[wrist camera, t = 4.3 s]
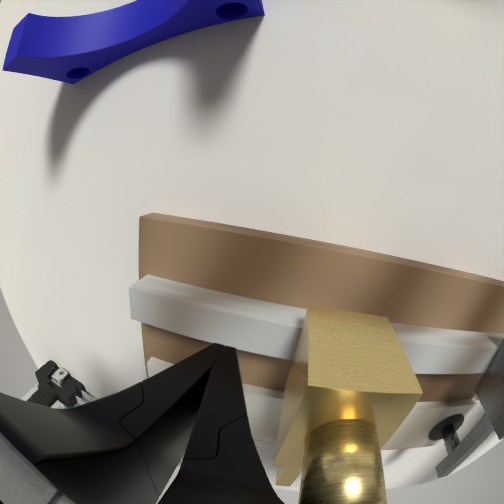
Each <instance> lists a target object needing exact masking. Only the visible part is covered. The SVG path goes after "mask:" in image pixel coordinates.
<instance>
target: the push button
mask: <svg viewBox="0 0 504 504" xmlns="http://www.w3.org/2000/svg"><path fill="white" fill-rule="evenodd" d="M35 374H36V377H37V380H38V382H39V384H37V383H36V384H34V386H35V387H33V389H31V390H30V391H29V392H28V393H27V394H26V395H25V396H24V397H23V398H21V400H24V401H28V402H31V403H35V404H39V405H43V406H47V407H51V408H57V409H65V408H71V407H75V406H79V405H82V404H85V402H84V401H83V400H84V399H86V400H89V401H91V402H92V400H93V401H95V399H94V398H92V397H91V396H89V395H87V394H86V392H85V391H84V387H83V384H82V383H80V382H79V381H77V380H76V379H74V378H73V377H71V376H70V375H68V372H67V371H66V370H64V369H63V368H59V367H57V366H56V364H55V363H54V362H53V361H51V360H50V361H48V362H47V363H46V364H44V365H43V366H42V367H41V368H40V369H39V370H37V371H36V372H35ZM90 398H91V399H92V400H91V399H90Z"/></svg>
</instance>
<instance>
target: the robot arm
mask: <svg viewBox="0 0 504 504" xmlns="http://www.w3.org/2000/svg"><path fill="white" fill-rule="evenodd" d="M184 452H185V455H184V458H183V461H182V464H181V467H180V470H179V472H178V474H177V476H176V478H175V479H174V481H173V482H172V484H171V485H170V487H169V488H168V490H167V491H166V492H165V494H164V495H163V497H162V498H161V500H160V501H159V503H158V504H284V503H283V502H282V501H281V500H280V498H279V497H278V496H277V494H276V493H275V491H274V489H273V488H272V486H271V484H270V481H269V479H268V477H267V474H266V472H265V470H264V467H263V465H262V462H261V460H260V457H259V455H258V452H257V450H256V447H255V444H254V441H253V437H252V433H251V429H250V425H249V419H248V416H247V409H246V403H245V397H244V391H243V385H242V379H241V373H240V367H239V360H238V354H237V349H236V348H235V347H231V346H227V345H226V346H225V345H223V344H219V343H212V344H210V345H208V346H207V347H205V348H203V349H201V350H200V351H198V352H196V353H194V354H192V355H191V356H189V357H187V358H185V359H183V360H181V361H180V362H178V363H176V364H174V365H172V366H170V367H168V368H167V369H165V370H163V371H161V372H159V373H157V374H155V375H153V376H151V377H149V378H147V379H145V380H143V381H142V382H139V383H137V384H135V385H133V386H131V387H129V388H127V389H124V390H122V391H120V392H118V393H115V394H112V395H109V396H107V397H104V398H101V399H98V400H95V401H92V402H88V403H85V404H82V405H79V406H75V407H71V408H65V409H57V408H51V407H47V406H43V405H39V404H35V403H31V402H28V401H24V400H21V399H18V398H15V397H11V396H8V395H5V394H3V393H0V504H155V503H156V502H157V500H158V499H159V496H160V495H161V493H162V491H163V489H164V488H165V486H166V485H167V483H168V481H169V479H170V478H171V476H172V474H173V472H174V470H175V469H176V467H177V465H178V463H179V461H180V460H181V458H182V456H183V454H184Z"/></svg>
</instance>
